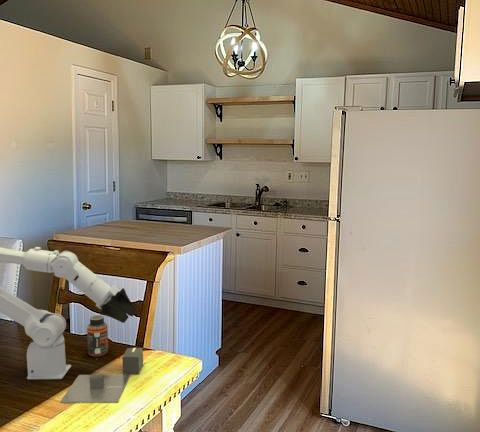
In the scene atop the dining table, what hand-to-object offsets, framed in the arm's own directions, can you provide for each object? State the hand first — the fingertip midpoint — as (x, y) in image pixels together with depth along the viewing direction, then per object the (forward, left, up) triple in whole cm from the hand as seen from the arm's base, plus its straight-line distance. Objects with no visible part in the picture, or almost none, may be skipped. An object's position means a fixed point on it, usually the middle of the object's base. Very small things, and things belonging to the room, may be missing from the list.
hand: (130, 316), depth 135 cm
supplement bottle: (-13, +12, -16) cm, 24 cm away
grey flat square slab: (-7, -10, -16) cm, 20 cm away
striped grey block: (0, +1, -16) cm, 16 cm away
